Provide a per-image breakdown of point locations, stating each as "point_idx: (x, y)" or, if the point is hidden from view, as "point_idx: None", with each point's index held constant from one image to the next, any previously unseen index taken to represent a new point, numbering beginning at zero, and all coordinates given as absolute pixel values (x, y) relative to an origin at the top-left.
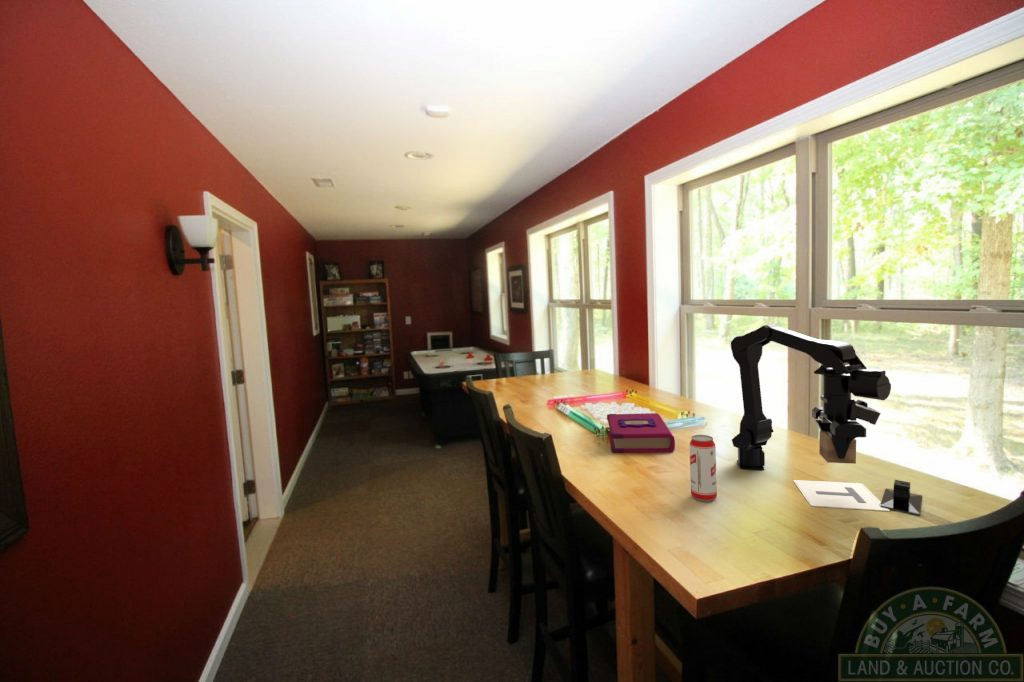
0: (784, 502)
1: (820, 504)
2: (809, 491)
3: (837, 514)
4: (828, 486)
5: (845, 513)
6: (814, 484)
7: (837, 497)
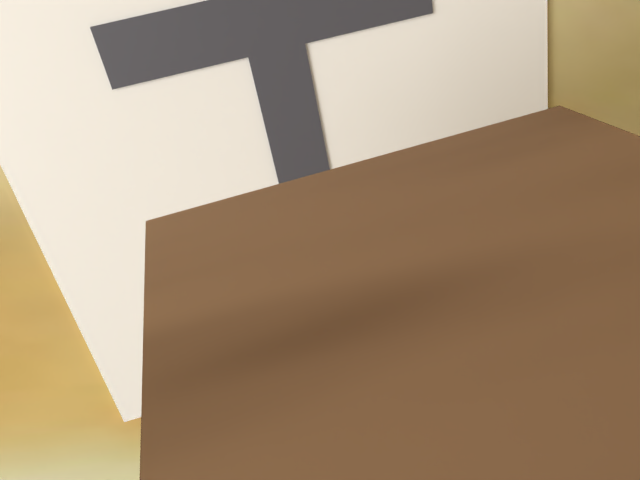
0: None
1: None
2: None
3: None
4: (151, 208)
5: (618, 117)
6: None
7: (375, 154)
